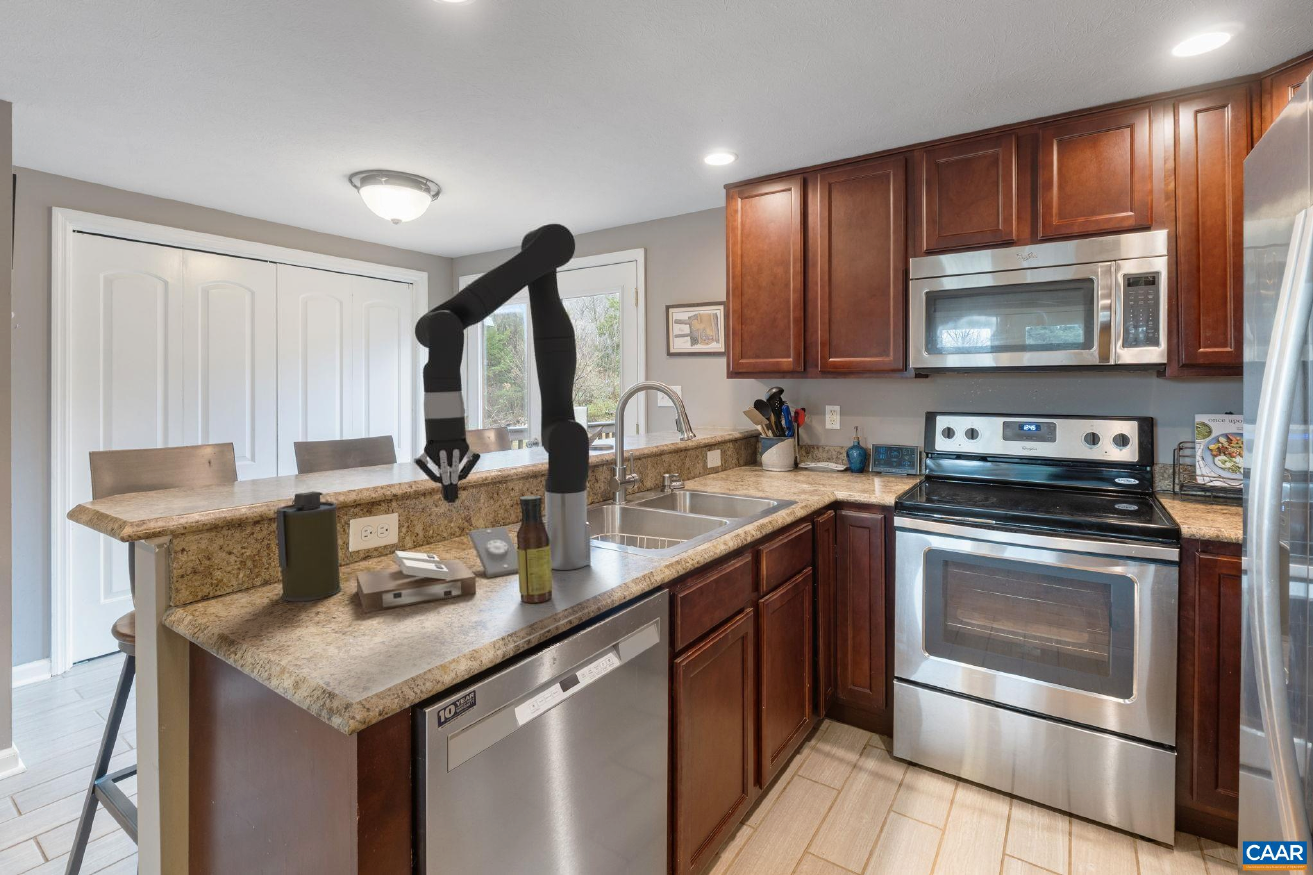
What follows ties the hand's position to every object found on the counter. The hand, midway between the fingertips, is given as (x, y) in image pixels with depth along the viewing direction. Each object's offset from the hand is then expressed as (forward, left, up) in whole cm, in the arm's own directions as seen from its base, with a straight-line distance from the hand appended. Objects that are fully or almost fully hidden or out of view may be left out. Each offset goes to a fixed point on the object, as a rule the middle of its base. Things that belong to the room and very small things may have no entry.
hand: (450, 502), depth 124 cm
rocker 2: (+6, +1, -12) cm, 14 cm away
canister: (+25, -13, -18) cm, 33 cm away
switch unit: (+7, -3, -18) cm, 19 cm away
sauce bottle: (-12, +13, -18) cm, 26 cm away
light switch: (-12, -11, -18) cm, 24 cm away
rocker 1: (+6, -7, -12) cm, 15 cm away
